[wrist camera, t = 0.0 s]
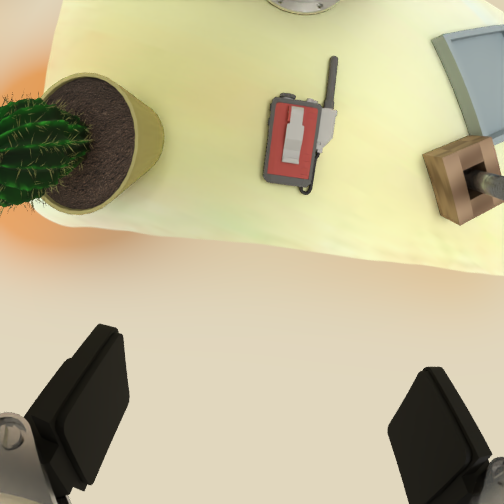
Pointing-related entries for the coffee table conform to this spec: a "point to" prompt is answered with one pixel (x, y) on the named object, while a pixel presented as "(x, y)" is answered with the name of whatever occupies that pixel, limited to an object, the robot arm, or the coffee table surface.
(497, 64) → the tray
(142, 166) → the potted cactus
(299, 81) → the coffee table surface
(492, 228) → the coffee table surface
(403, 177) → the coffee table surface
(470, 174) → the pin
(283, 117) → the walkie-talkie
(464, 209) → the holder block
